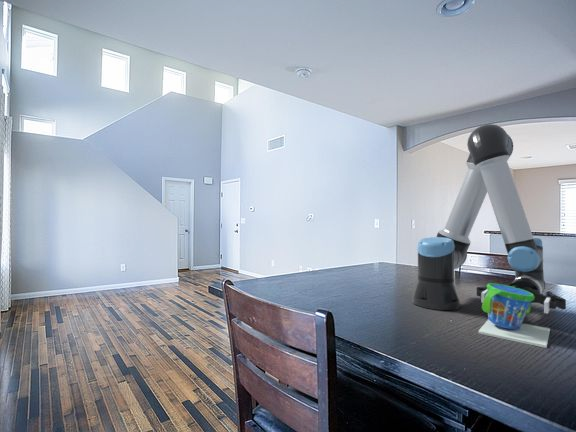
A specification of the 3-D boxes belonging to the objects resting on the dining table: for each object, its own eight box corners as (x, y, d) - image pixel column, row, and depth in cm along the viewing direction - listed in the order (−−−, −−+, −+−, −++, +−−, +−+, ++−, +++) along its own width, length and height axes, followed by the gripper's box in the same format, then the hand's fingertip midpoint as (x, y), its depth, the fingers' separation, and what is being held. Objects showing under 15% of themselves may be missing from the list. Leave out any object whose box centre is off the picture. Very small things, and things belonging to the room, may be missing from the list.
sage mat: (546, 348, 74) (546, 345, 74) (478, 333, 84) (478, 331, 84) (550, 330, 86) (550, 328, 86) (490, 319, 96) (489, 317, 96)
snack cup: (509, 317, 94) (516, 284, 93) (544, 334, 84) (552, 297, 83) (465, 315, 91) (471, 281, 90) (495, 332, 81) (503, 293, 80)
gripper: (579, 310, 89) (577, 328, 74) (479, 294, 107) (460, 307, 91) (579, 283, 89) (577, 296, 74) (479, 272, 107) (460, 281, 91)
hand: (512, 302), depth 83 cm, fingers open, 13 cm apart
